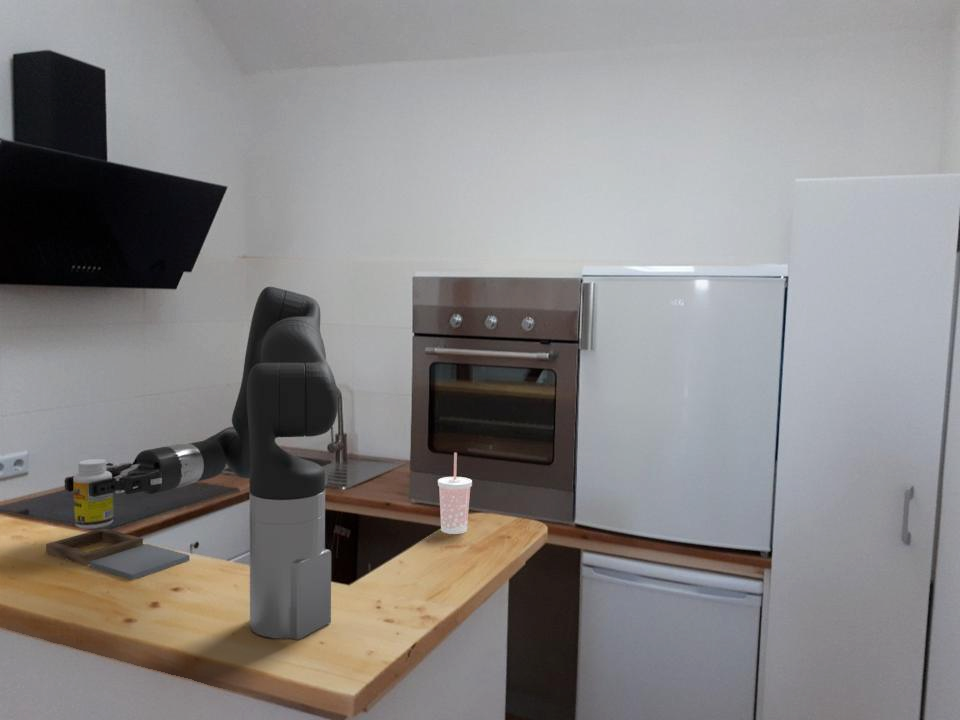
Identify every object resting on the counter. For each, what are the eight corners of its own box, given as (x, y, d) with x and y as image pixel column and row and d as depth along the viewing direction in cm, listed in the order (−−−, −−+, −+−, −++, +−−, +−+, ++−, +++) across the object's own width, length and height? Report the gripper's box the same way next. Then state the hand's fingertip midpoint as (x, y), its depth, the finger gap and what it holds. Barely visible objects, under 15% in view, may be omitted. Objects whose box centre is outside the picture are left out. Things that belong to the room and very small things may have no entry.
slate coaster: (189, 560, 122) (189, 555, 122) (132, 580, 113) (132, 574, 113) (147, 548, 127) (147, 543, 127) (89, 566, 118) (89, 561, 118)
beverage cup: (452, 522, 145) (453, 447, 143) (478, 529, 141) (479, 452, 140) (429, 530, 140) (431, 452, 139) (456, 537, 136) (457, 457, 135)
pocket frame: (143, 547, 127) (142, 538, 127) (85, 565, 119) (85, 555, 119) (104, 536, 132) (103, 528, 132) (46, 553, 124) (46, 544, 124)
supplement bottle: (73, 523, 126) (71, 459, 125) (111, 518, 129) (109, 456, 128) (76, 532, 121) (73, 466, 120) (115, 526, 124) (113, 462, 123)
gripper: (141, 442, 140) (49, 458, 125) (197, 450, 133) (106, 469, 118) (142, 483, 141) (51, 504, 126) (198, 494, 134) (107, 518, 119)
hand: (78, 487), depth 122 cm, fingers closed on supplement bottle, 5 cm apart
